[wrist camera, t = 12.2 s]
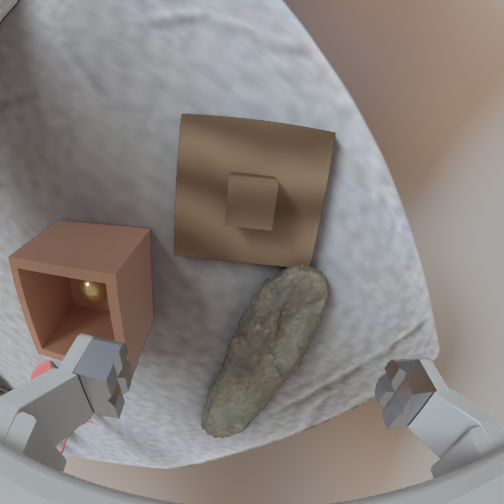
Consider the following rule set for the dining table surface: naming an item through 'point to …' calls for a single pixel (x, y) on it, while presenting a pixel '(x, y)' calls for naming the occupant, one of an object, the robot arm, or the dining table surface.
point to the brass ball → (92, 290)
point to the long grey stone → (265, 348)
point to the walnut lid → (249, 190)
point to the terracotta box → (90, 269)
